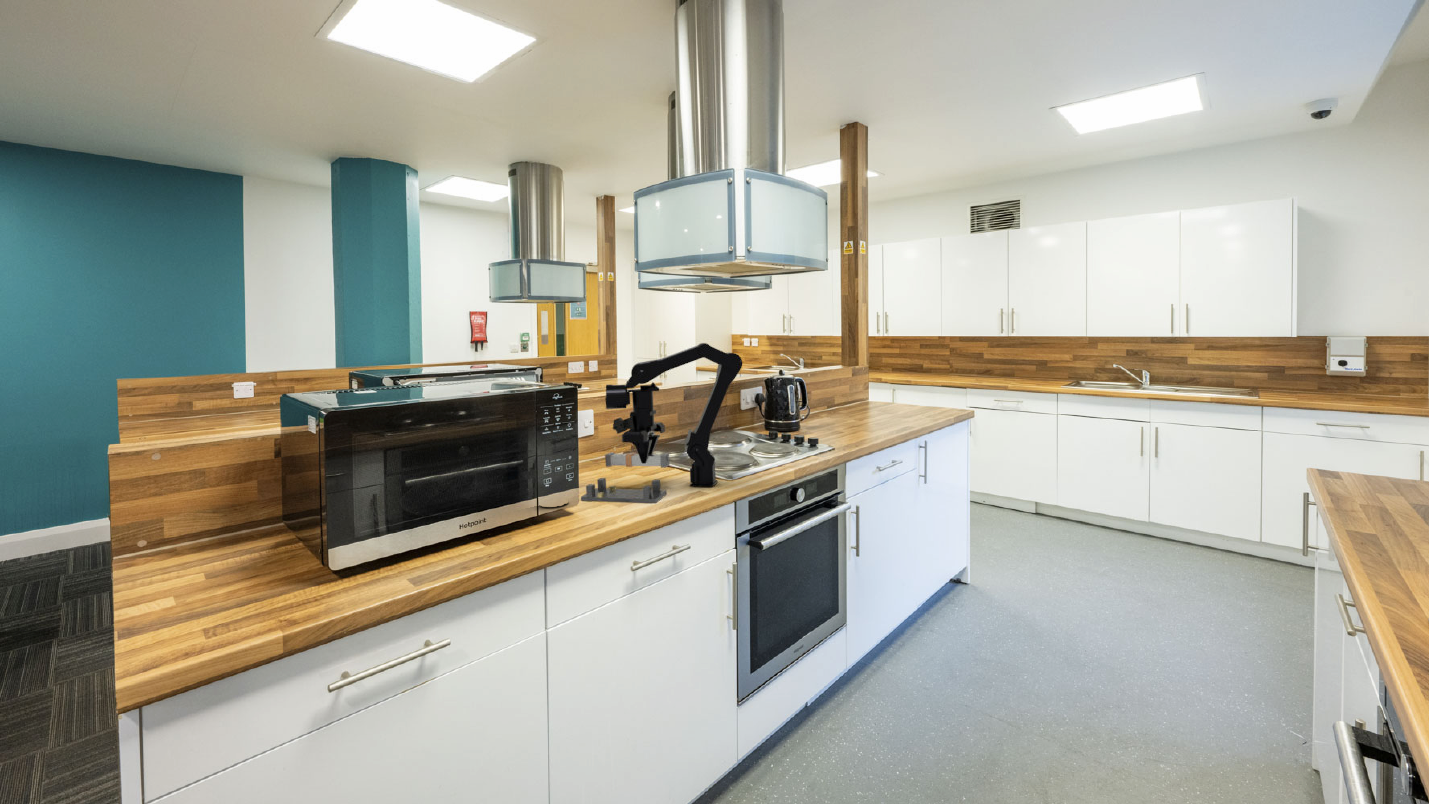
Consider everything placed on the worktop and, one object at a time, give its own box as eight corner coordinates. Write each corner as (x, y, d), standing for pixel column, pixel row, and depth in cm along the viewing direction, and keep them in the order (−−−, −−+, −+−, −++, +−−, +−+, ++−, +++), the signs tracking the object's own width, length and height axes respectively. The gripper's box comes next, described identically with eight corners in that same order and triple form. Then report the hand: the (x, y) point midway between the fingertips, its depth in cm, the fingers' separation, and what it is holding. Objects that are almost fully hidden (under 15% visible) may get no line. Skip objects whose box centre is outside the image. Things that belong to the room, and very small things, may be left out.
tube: (669, 465, 169) (669, 453, 169) (665, 467, 166) (665, 455, 166) (610, 463, 174) (610, 452, 174) (605, 466, 171) (605, 454, 170)
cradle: (666, 494, 163) (665, 479, 163) (655, 503, 154) (654, 488, 154) (595, 491, 168) (594, 477, 168) (581, 500, 159) (580, 485, 159)
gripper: (628, 403, 179) (631, 455, 180) (602, 411, 161) (605, 468, 162) (664, 403, 176) (666, 455, 178) (641, 411, 158) (644, 469, 160)
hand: (645, 462), depth 169 cm, fingers closed on tube, 3 cm apart
